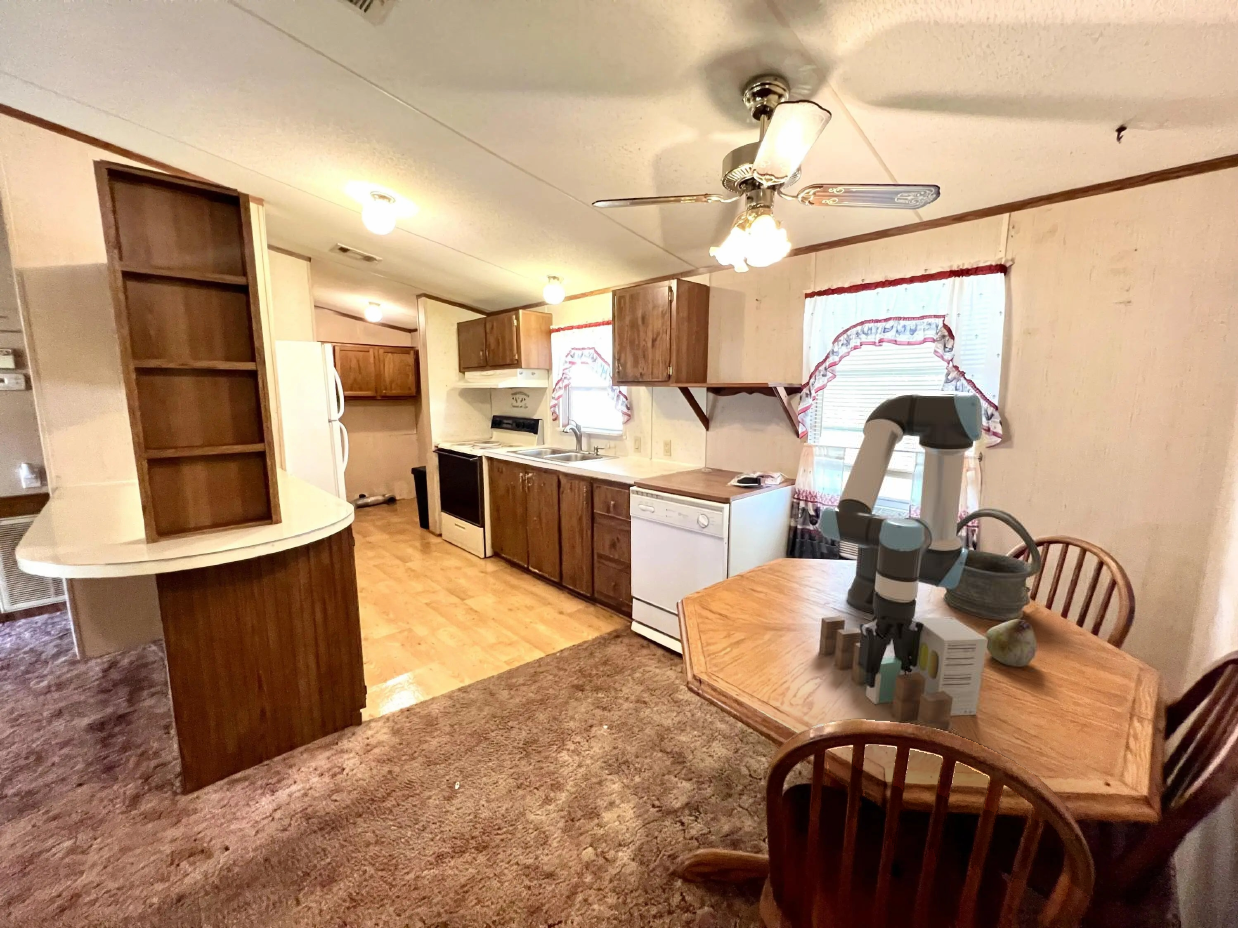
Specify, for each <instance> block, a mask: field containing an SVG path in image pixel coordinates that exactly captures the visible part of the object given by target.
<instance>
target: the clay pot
mask: <svg viewBox="0 0 1238 928" xmlns="http://www.w3.org/2000/svg"><path fill="white" fill-rule="evenodd" d="M979 518H991V519H995V520H998V521H1001V522H1002V523H1004V524H1005V525H1006V526H1008V527H1009V528H1010V529H1012V530H1013V532H1014V533H1016V534H1017V535H1018V536H1019V537H1020V538H1021V539H1022V541H1023V542H1024V544H1025V545H1026V547H1027V549H1028V551H1029V553H1030V556H1031V562H1028V561H1025V560H1021V559H1019V558H1015V557H1012V556H1008V555H1003V554H999V553H993V552H988V551H984V550H983V551H982V550H976V549H967V550H968V554H967V557H966V561H965V564H964V567H963V570H962V574H961V577H960V580H959V583H958V585H957V587H956V588H954V589H948V588H944V589H945V593H944V595H943V597H944V600H945V602H947V604H948V605H950V606H952V608H955V610H959V611H960V612H964V613H966V614H969V615H971V616H976V617H978V618H979V617H980V618H983V619H988V620H994V621H1005V622H1008V621H1011V620H1015V619H1020V620H1021V618H1022V617H1023V615H1024V611H1023V609H1024V607H1025V606H1026V607H1027V606H1028V605H1030V603H1031V600H1030V597H1029V593H1030V592H1031V588H1030V587H1029V586H1027V579H1028V578H1030V577H1034V576H1035V575H1037V574H1038V573H1040V571H1041V569H1042V564H1043V563H1042V556H1041V553H1040V550H1039V549H1038V547H1037V544H1036V543H1035V541H1034V539H1033V538H1032V535H1031V534H1030V533H1029V532H1028V530H1027V529H1026V528H1025V526H1024V525H1023V523H1021V521H1019V519H1017V518H1016V517H1015V516H1013V515H1012V514H1011V513H1008V512H1007V511H1005V510H1003V509H998V508H992V507H990V508H989V507H987V508H986V507H985V508H981V509H977V510H975V511H973V512H971V513H969V514H967V515H966V516H965V517H963V518H962V519H961V520H959V521H957V531H956V536H957V537H958V535H959V533H960V532H961V531H962V530H963V529H964V527H965V526H966V525H968V524H969V523H971V522H972V521H974V520H976V519H979Z"/></svg>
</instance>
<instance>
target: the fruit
mask: <svg viewBox="0 0 1238 928" xmlns="http://www.w3.org/2000/svg"><path fill="white" fill-rule="evenodd" d="M984 637H985V638H987V639H988V642H987V649H986V650H987V651H988V653H989V654H990V655H991V657H993V658H994V659H995V660H997V661H998V662H1000V663H1002V664H1004V665H1006V666H1012V667H1015V668H1018V667H1025V666H1027V665H1029V664H1030V663H1031V662H1032V660H1033V659H1034V657H1035V655H1036V652H1037V650H1038V643H1037V639H1036V636H1035V633H1034V629H1033V627H1032V625H1031V624H1030V623H1028V621H1027V620H1023V619H1021V618H1020V619H1015V620H1011V621H1005V622H1001V623H1000V624H998V625H995V626H992V627H991V628H989V629H988V630H987V631H986V633H985V635H984Z"/></svg>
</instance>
